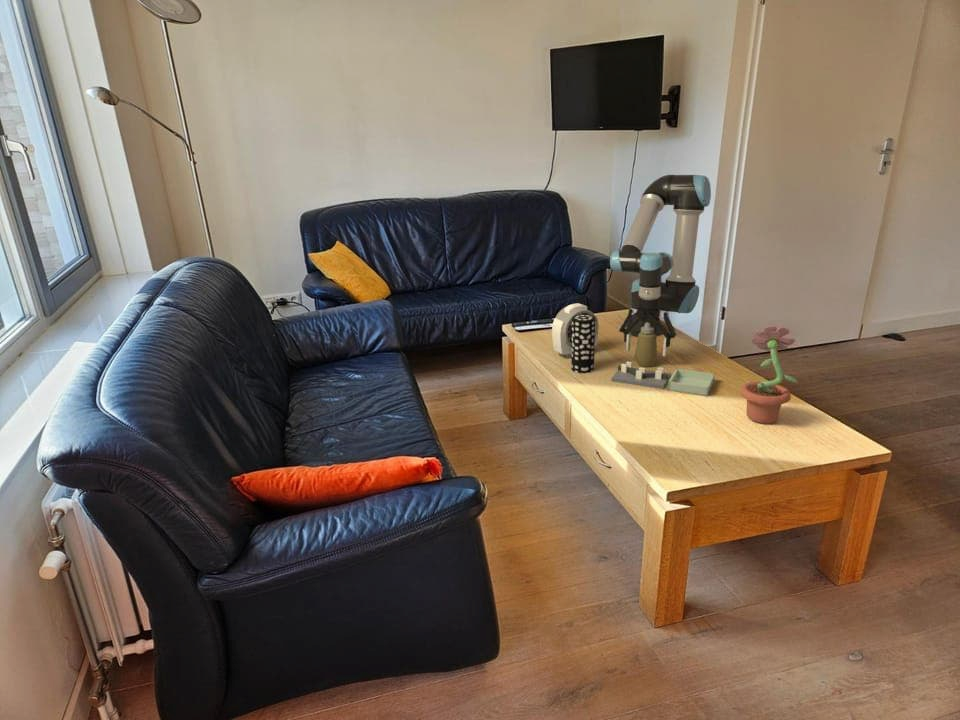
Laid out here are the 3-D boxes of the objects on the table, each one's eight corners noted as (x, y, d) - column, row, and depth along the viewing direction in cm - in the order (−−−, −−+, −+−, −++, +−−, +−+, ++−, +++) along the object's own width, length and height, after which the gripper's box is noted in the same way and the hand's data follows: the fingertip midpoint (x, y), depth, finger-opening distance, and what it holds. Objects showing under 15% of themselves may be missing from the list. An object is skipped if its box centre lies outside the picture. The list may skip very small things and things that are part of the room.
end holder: (675, 376, 222) (676, 368, 221) (713, 381, 216) (714, 373, 215) (667, 390, 212) (667, 382, 211) (707, 396, 206) (708, 387, 205)
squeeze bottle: (654, 360, 237) (657, 315, 231) (658, 368, 230) (661, 321, 223) (633, 360, 238) (635, 315, 232) (635, 368, 231) (638, 321, 224)
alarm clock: (562, 361, 240) (562, 311, 233) (550, 355, 247) (549, 305, 240) (600, 352, 248) (601, 303, 240) (587, 346, 255) (588, 298, 247)
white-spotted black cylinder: (598, 368, 232) (599, 316, 225) (585, 375, 227) (586, 322, 220) (579, 363, 238) (580, 312, 231) (566, 369, 232) (567, 318, 225)
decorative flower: (790, 412, 192) (804, 319, 182) (791, 432, 181) (806, 334, 170) (738, 405, 198) (749, 315, 187) (735, 424, 187) (746, 329, 176)
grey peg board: (620, 369, 231) (621, 359, 229) (670, 376, 222) (671, 365, 221) (611, 381, 221) (611, 370, 219) (663, 389, 213) (664, 378, 211)
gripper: (612, 296, 227) (610, 351, 235) (682, 303, 216) (678, 360, 224) (618, 291, 233) (616, 345, 241) (687, 297, 222) (682, 353, 230)
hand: (646, 352), depth 232 cm, fingers open, 13 cm apart
